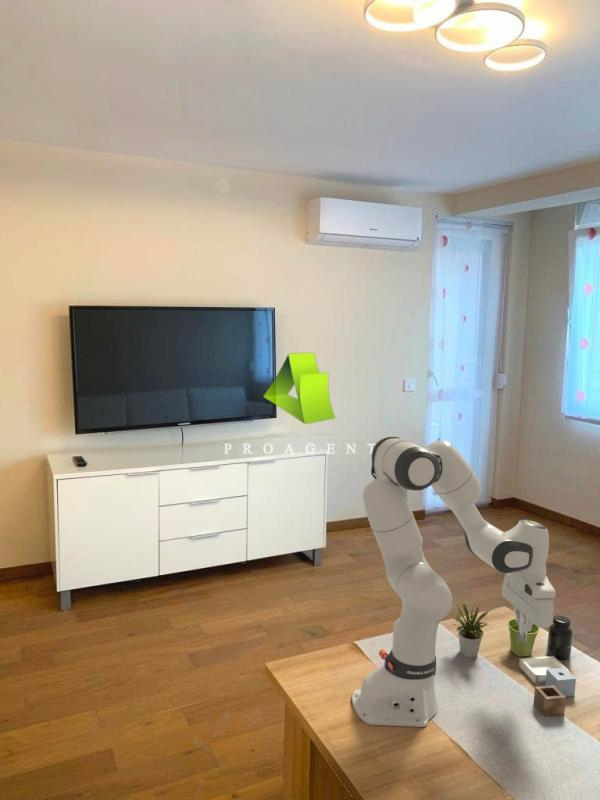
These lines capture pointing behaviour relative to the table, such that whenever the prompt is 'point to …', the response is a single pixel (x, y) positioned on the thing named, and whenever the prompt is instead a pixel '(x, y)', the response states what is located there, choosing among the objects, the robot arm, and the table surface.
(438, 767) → the table surface
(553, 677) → the slate-blue block
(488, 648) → the table surface
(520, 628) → the pin gauge
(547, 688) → the walnut block
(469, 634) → the house plant
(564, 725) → the table surface
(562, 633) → the supplement bottle
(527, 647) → the plant pot
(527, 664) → the off-white tray
